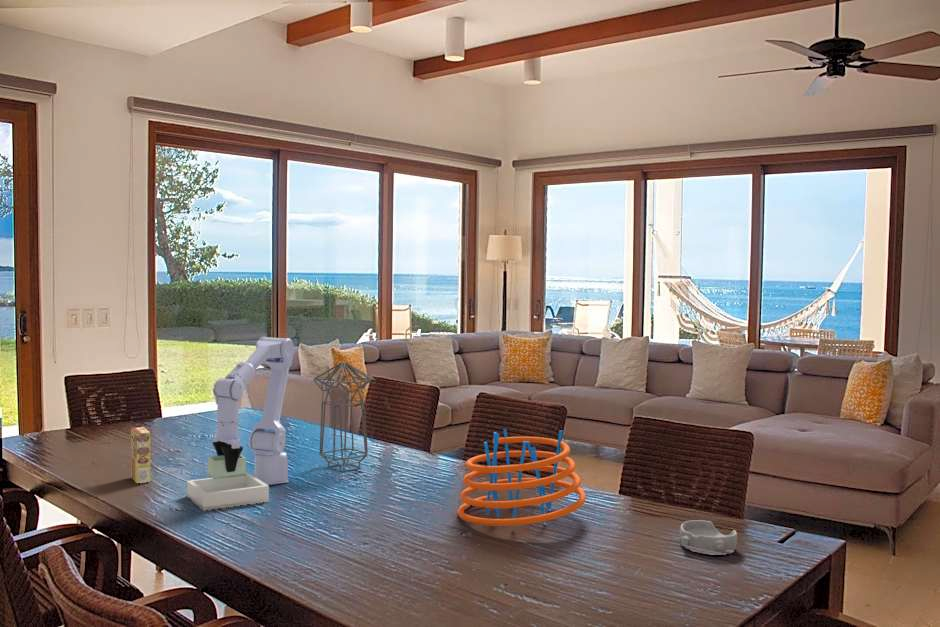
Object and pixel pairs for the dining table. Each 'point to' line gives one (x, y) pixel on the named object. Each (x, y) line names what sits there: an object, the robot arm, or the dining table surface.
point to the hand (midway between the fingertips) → (227, 469)
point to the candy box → (140, 455)
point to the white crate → (227, 492)
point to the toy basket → (521, 481)
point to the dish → (706, 536)
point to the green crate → (219, 467)
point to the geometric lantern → (368, 379)
